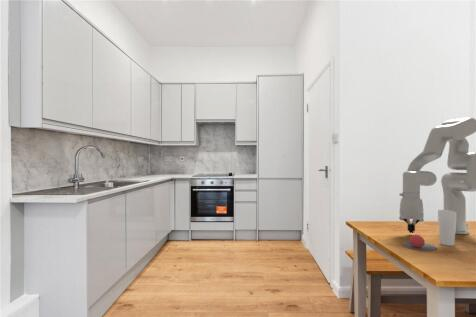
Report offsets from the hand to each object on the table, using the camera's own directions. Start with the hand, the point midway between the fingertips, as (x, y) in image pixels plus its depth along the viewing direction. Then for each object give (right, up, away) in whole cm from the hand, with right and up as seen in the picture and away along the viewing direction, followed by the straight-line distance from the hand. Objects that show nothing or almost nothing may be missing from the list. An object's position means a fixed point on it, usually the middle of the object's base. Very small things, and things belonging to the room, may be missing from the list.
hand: (411, 232), depth 150 cm
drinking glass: (+6, -2, -17) cm, 18 cm away
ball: (-11, +2, -23) cm, 26 cm away
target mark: (-8, -1, -20) cm, 22 cm away
